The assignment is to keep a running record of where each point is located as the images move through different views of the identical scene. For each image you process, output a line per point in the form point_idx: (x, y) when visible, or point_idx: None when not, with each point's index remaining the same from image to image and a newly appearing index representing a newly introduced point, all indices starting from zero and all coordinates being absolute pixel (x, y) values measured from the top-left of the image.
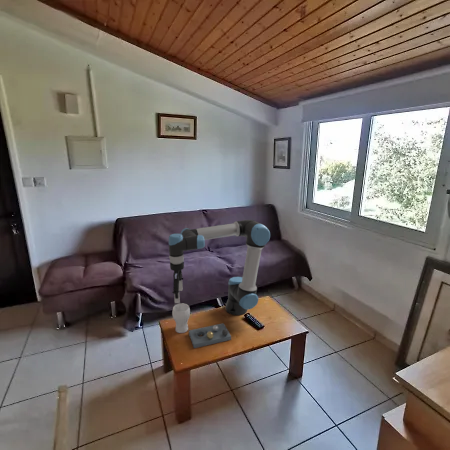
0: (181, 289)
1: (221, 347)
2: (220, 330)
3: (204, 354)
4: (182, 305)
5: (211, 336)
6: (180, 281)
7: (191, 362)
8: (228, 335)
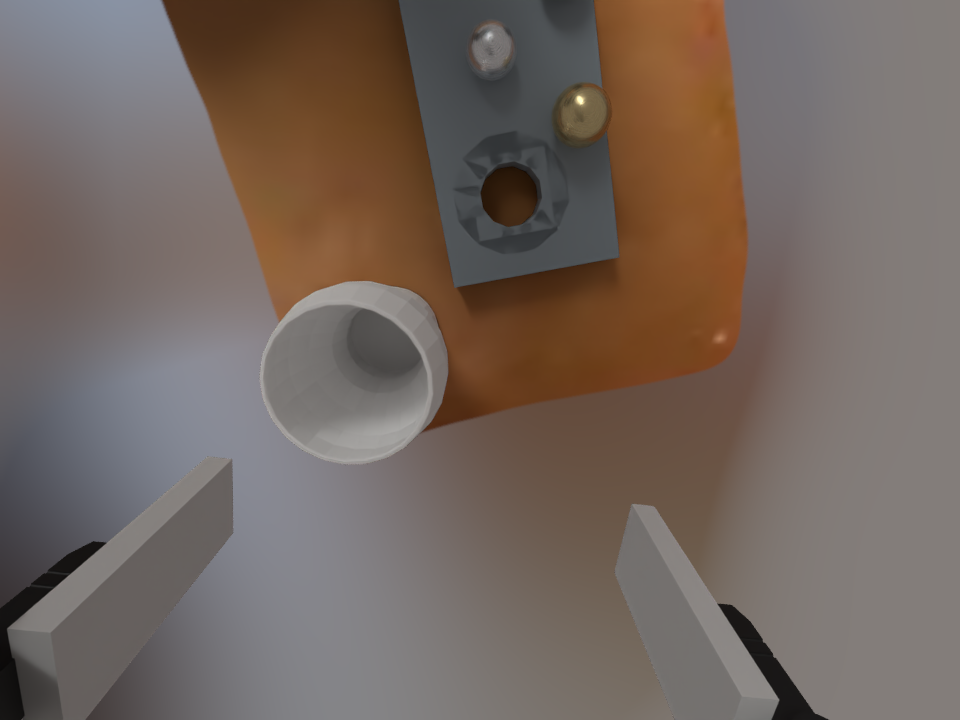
0: (218, 487)
1: (646, 46)
2: (492, 11)
3: (684, 188)
4: (270, 364)
5: (610, 105)
6: (79, 648)
7: (731, 279)
8: None
